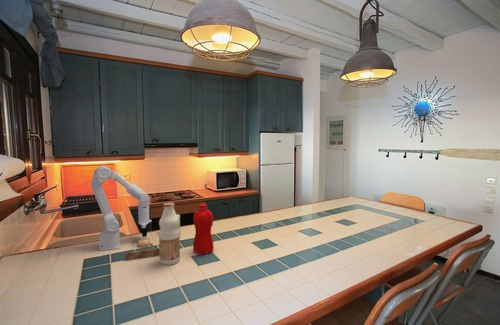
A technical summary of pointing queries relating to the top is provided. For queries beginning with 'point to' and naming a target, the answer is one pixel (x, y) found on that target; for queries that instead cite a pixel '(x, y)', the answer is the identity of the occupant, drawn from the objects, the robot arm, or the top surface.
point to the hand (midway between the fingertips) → (144, 236)
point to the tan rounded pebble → (143, 242)
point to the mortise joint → (142, 253)
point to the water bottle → (203, 230)
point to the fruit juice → (169, 236)
